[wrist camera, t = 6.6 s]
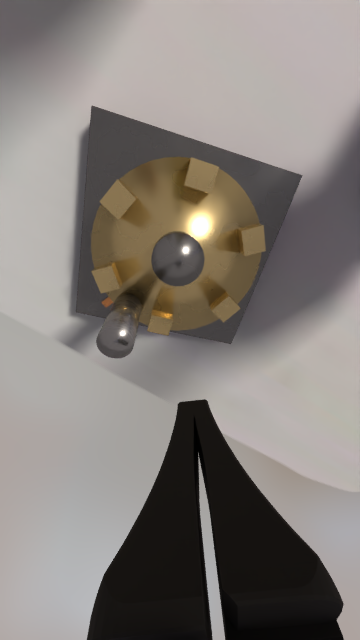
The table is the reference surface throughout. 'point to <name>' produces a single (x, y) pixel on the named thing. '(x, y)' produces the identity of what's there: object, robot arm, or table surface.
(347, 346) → the table surface
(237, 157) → the base plate
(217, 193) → the gold round piece
